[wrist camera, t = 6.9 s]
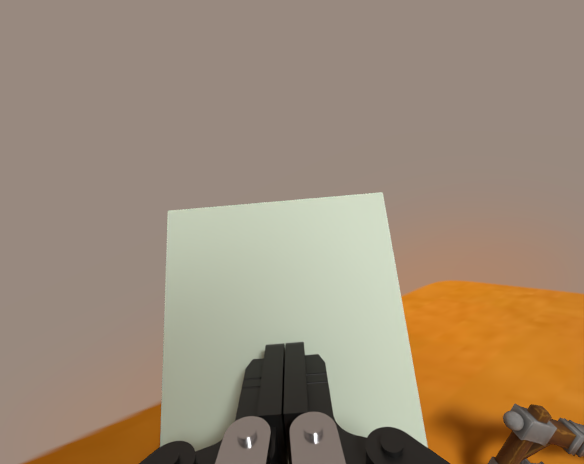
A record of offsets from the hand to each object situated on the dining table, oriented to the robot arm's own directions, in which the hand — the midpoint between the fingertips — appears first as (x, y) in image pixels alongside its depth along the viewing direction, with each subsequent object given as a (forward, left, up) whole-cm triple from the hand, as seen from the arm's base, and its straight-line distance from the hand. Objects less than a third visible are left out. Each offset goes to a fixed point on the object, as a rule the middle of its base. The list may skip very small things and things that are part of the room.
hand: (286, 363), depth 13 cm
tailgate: (0, -2, -5) cm, 6 cm away
